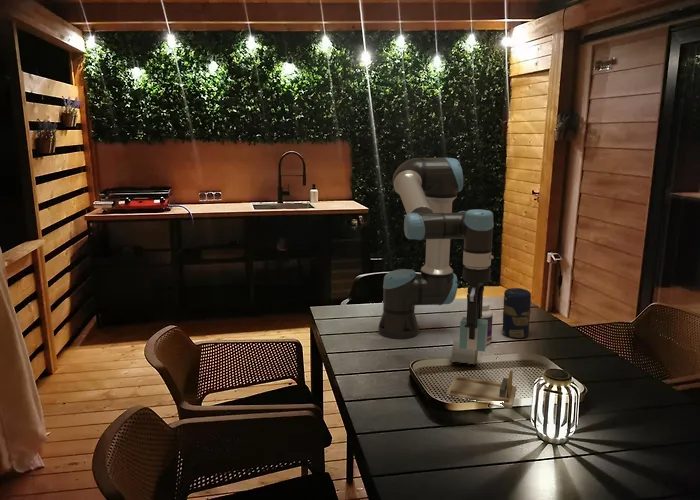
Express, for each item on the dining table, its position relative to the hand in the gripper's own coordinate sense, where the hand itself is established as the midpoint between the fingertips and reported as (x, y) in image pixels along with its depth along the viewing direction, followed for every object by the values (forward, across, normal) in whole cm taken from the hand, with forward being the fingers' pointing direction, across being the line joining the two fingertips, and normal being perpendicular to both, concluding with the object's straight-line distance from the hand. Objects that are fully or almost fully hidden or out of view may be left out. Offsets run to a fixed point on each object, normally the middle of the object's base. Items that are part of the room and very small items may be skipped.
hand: (473, 346), depth 157 cm
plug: (0, 0, 0) cm, 0 cm away
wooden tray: (+14, 0, -3) cm, 14 cm away
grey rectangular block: (+14, +21, +6) cm, 26 cm away
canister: (+14, +52, -7) cm, 54 cm away
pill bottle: (+14, +40, +4) cm, 43 cm away
